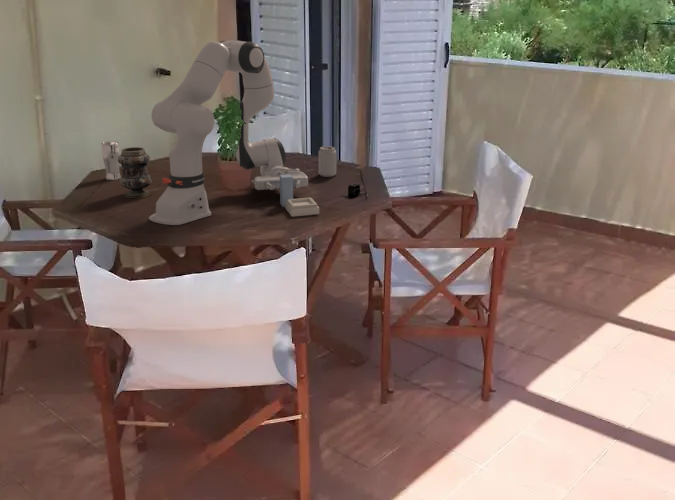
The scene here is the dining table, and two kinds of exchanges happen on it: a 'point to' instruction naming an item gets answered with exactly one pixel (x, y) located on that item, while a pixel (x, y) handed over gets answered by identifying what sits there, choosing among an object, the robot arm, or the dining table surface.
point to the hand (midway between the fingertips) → (285, 187)
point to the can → (327, 161)
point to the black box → (353, 191)
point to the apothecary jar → (135, 171)
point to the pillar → (286, 188)
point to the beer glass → (111, 159)
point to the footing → (301, 207)
